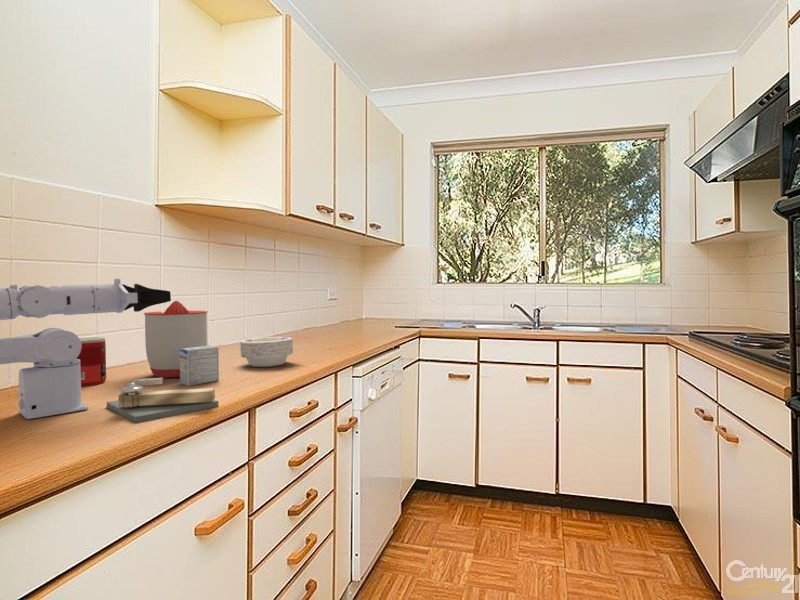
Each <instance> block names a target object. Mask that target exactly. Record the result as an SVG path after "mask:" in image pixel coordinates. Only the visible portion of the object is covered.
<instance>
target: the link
mask: <svg viewBox="0 0 800 600" xmlns="http://www.w3.org/2000/svg"><path fill="white" fill-rule="evenodd" d="M215 390H216V389H215V387H211V388H208V387H207V388H191V389H189V388H188V389H187V388H186V389H170V390H169V389H168V390H152V391H151V390H149V391H143V392H141V391H140V392H135V394H134V395H128V393H119V394H118V400H119V406H120V407H133V406H143V405H161V404H179V403H198V402H212V401H213V400H216V391H215Z"/></svg>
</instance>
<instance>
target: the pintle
mask: <svg viewBox="0 0 800 600" xmlns="http://www.w3.org/2000/svg"><path fill="white" fill-rule="evenodd" d="M140 391H142V386H135V383H133V382H127V386H125V387H124V386H123V387H121V388H120V394H122V393H128V395H134V394H135V392H140ZM133 407H136V406H133ZM133 407H128V408H133Z"/></svg>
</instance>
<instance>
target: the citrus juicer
mask: <svg viewBox="0 0 800 600" xmlns="http://www.w3.org/2000/svg"><path fill="white" fill-rule="evenodd" d="M208 313H209V312H208V310H188V309H187V308H186V307H185V306H184V305H183V304H182V303H181V302H180V301H178V300H175V301H174V300H173V302H172V303H170V305H169V306H168V307H167V308H165V310H164V312H163V311H147V312H144V313H143V315H144V334H145V335H144V336H145V337H144V341H145V352H146V360H147V362H148V364H149V369H150V372H151V374H152V376H154V377H156V378H163V379H171V378H177V377H179V378H180V349H184V348H192V347H201V346H208Z"/></svg>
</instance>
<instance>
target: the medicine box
mask: <svg viewBox="0 0 800 600" xmlns="http://www.w3.org/2000/svg"><path fill="white" fill-rule="evenodd" d="M219 357H220V356H219V347H217V346H214V345H207V346H201V347H192V348H184V349H180V376H179V378H180V379H179V382H180V384H181V385H183V386H187V387H189V386H195V385H200V384H202V385H203V384H206V383H212V382H218V381H219V380H220V375H219V374H220V371H219V368H220V365H219V362H220V361H219Z"/></svg>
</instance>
